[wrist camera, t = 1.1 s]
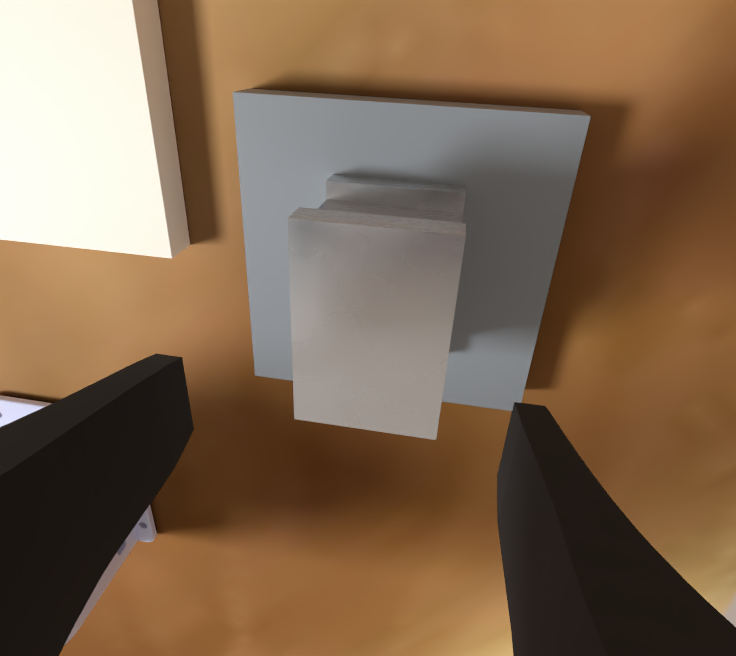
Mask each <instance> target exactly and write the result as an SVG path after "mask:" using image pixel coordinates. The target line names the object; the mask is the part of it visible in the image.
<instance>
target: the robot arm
mask: <svg viewBox="0 0 736 656" xmlns="http://www.w3.org/2000/svg"><path fill="white" fill-rule="evenodd" d="M193 429H194V428H193V422H192V415H191V409H190V403H189V397H188V391H187V385H186V379H185V373H184V367H183V361H182V357H176V356H169V355H161V354H155V355H152V356H150V357H147V358H145V359H143V360H141V361H138V362H136V363H134V364H132V365H130V366H128V367H126V368H124V369H122V370H120V371H118V372H116V373H114V374H112V375H110V376H108V377H106V378H104V379H102V380H100V381H98V382H96V383H94V384H92V385H89V386H87V387H85V388H83V389H81V390H79V391H77V392H75V393H73V394H71V395H69V396H67V397H65V398H63V399H61V400H59V401H57V402H55V403H47V402H41V401H34V400H28V399H21V398H14V397H8V396H1V395H0V656H59V654H60V652H61V650H62V648H63V646H64V645H65V644H66V643H67V642H68V641H69V640H70V639H71V638H72V637H73V636H74V635H75V634H76V632H77V631H78V630H79V628H80V627H81V625H82V624H83V622H84V621H85V619H86V618H87V616H88V615H89V613H90V612H91V610H92V609H93V607H94V606H95V604H96V603H97V601H98V600H99V598H100V597H101V595H102V594H103V592H104V591H105V589H106V588H107V586H108V585H109V583H110V582H111V580H112V579H113V577H114V576H115V574H116V573H117V571H118V570H119V568H120V567H121V565H122V564H123V562H124V561H125V559H126V558H127V556H128V555H129V553H130V552H131V550H132V549H133V547H134V545H135V544H136V542H137V541H138V540H140V541H145V542H152V541H153V540H154V539H155V537H156V536H157V532H156V528H155V524H154V520H153V515H152V511H151V507H150V504H151V502H152V501H153V499H154V498H155V496H156V495H157V493H158V492H159V490H160V489H161V487H162V486H163V484H164V483H165V481H166V480H167V478H168V477H169V475H170V474H171V472H172V471H173V469H174V468H175V466H176V464H177V462H178V460H179V458H180V456H181V454H182V452H183V450H184V448H185V446H186V444H187V442H188V440H189V438H190V436H191V434H192V432H193ZM497 511H498V529H499V537H500V545H501V553H502V561H503V569H504V577H505V584H506V592H507V600H508V608H509V616H510V623H511V631H512V643H513V654H514V656H736V627H734V626H733V625H732V624H731V623H730V622H729V621H728V620H727V619H726V618H725V617H724V616H723V615H721V614H720V613H719V612H718V611H717V610H716V609H715V608H714V607H713V606H712V605H711V604H709V603H708V602H707V601H706V600H705V599H704V598H703V597H702V596H701V595H700V594H699V593H698V592H697V591H696V590H695V589H694V588H693V587H692V586H691V585H690V584H688V583H687V582H686V581H685V580H684V579H683V578H682V577H681V576H680V574H679V573H678V572H677V571H676V570H675V569H674V568H673V567H672V566H671V565H670V564H669V563H668V562H667V561H666V560H665V559H664V558H663V557H662V556H661V555H660V554H659V553H658V552H657V551H656V550H655V549H654V548H653V547H652V545H651V544H650V543H649V542H648V541H647V540H646V539H645V538H644V537H643V536H642V534H641V533H640V532H639V531H638V530H637V529H636V528H635V526H634V525H633V524H632V523H631V522H630V520H629V519H628V518H627V517H626V516H625V515H624V513H623V512H622V511H621V510H620V509H619V507H618V506H617V505H616V504H615V502H614V501H613V500H612V499H611V497H610V496H609V495H608V494H607V492H606V491H605V490H604V488H603V487H602V486H601V484H600V483H599V482H598V480H597V479H596V478H595V476H594V475H593V474H592V472H591V471H590V470H589V468H588V467H587V466H586V464H585V463H584V461H583V460H582V459H581V457H580V456H579V455H578V453H577V452H576V450H575V449H574V447H573V446H572V444H571V443H570V442H569V440H568V439H567V437H566V436H565V434H564V433H563V431H562V430H561V428H560V427H559V425H558V424H557V422H556V421H555V419H554V418H553V416H552V415H551V413H550V412H549V410H548V409H547V408H546V407H545V406H540V405H533V404H525V403H518V402H514V406H513V410H512V414H511V419H510V423H509V427H508V432H507V436H506V440H505V444H504V449H503V453H502V457H501V462H500V466H499V470H498V475H497Z"/></svg>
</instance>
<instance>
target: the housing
mask: <svg viewBox="0 0 736 656" xmlns="http://www.w3.org/2000/svg"><path fill="white" fill-rule="evenodd" d="M465 197H466V185H454V184H442V183H431V182H419V181H407V180H396V179H384V178H372V177H361V176H349V175H337V174H333V175H332V176H330V177H329V178H328V179H327V180H326V200H325V201H324V202H323V203H322V205H321V206H320V207H319V208H318V209H312V208H302V207H299V208H298V209H297V210H295V211H294V212H293V213H292V214H291V215H290V216H289V217H288V218H287V220H288V249H289V279H290V308H291V337H292V367H293V396H294V419H297V420H304V421H311V422H318V423H324V424H331V425H338V426H345V427H351V428H358V429H365V430H372V431H378V432H385V433H392V434H399V435H405V436H412V437H419V438H426V439H432V440H436V437H437V430H438V423H439V416H440V409H441V403H442V396H443V389H444V382H445V375H446V368H447V361H448V355H449V348H450V341H451V334H452V327H453V320H454V313H455V307H456V300H457V293H458V286H459V279H460V272H461V265H462V259H463V252H464V245H465V238H466V223H463V211H464V204H465Z"/></svg>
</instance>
